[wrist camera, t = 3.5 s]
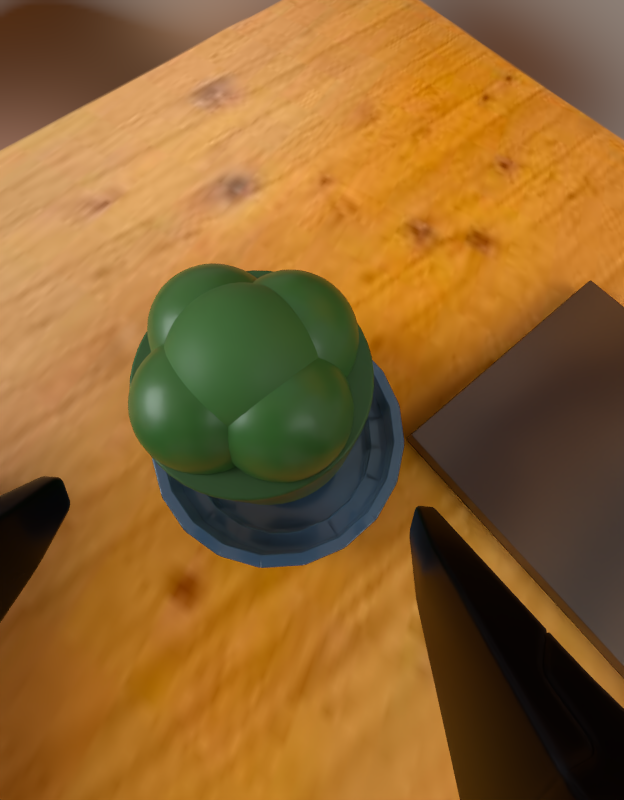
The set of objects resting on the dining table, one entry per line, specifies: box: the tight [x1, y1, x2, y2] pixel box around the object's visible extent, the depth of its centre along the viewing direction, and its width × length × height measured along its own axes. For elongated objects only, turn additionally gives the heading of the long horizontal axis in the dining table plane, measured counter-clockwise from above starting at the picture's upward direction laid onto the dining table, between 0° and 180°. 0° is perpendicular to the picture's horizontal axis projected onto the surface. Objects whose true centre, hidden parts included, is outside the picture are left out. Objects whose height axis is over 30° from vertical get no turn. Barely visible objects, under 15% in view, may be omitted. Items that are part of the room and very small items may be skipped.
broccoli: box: [128, 264, 374, 505], centre depth 14 cm, size 7×7×13 cm
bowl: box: [152, 360, 404, 568], centre depth 19 cm, size 11×11×4 cm
